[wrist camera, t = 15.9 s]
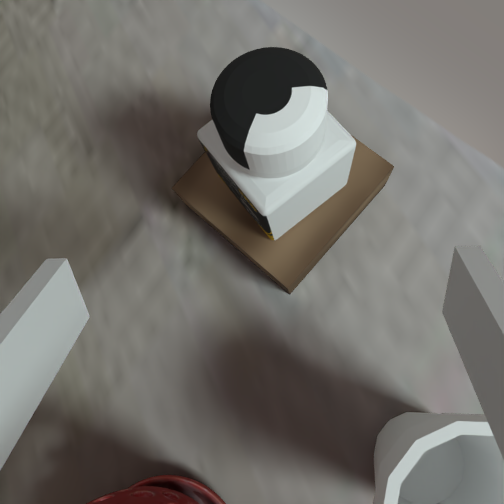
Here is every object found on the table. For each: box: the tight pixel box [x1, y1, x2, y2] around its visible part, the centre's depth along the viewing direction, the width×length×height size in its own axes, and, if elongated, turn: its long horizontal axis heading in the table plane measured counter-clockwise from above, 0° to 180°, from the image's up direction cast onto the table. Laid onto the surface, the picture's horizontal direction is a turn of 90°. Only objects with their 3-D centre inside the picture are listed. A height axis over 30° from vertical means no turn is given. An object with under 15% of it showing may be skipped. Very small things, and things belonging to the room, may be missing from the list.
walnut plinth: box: [172, 135, 394, 294], centre depth 35 cm, size 12×12×4 cm
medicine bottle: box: [197, 47, 356, 240], centre depth 27 cm, size 7×7×12 cm
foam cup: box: [373, 412, 504, 504], centre depth 26 cm, size 10×9×13 cm
